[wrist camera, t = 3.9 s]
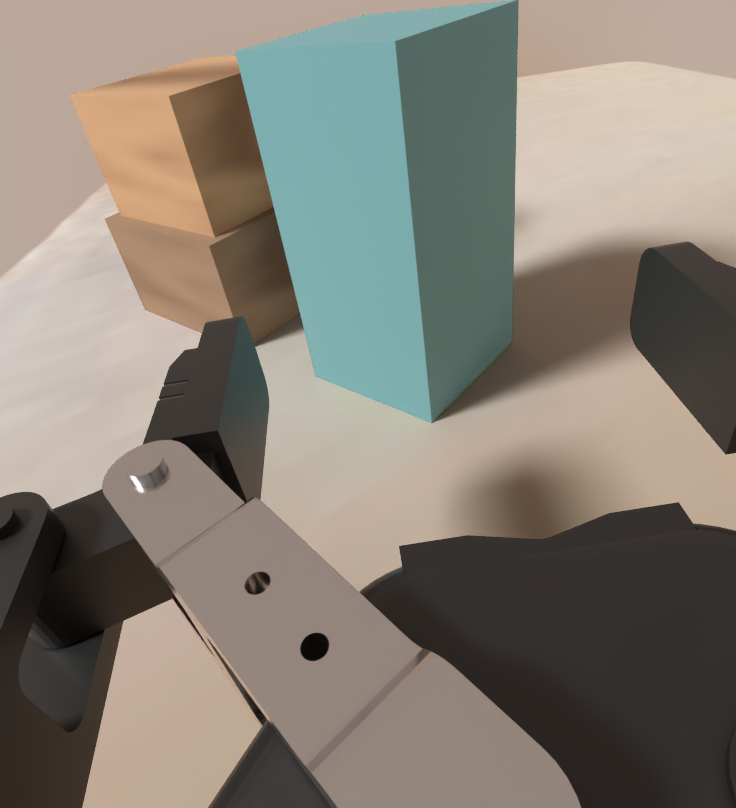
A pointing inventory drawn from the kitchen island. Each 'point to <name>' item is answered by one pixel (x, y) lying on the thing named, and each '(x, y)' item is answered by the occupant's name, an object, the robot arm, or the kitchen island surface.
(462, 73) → the teal pillar
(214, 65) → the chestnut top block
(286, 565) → the robot arm
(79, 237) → the kitchen island surface
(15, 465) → the kitchen island surface
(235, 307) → the walnut base block
